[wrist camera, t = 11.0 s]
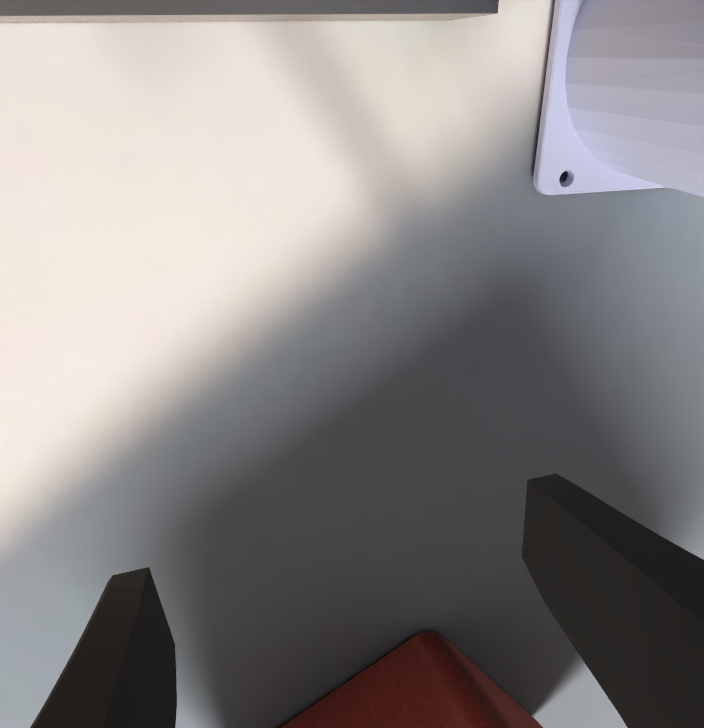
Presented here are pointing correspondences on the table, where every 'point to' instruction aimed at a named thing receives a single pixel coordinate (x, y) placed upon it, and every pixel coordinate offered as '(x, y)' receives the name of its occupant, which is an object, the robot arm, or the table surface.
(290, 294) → the table surface
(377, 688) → the plant pot
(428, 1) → the metal square hole block
